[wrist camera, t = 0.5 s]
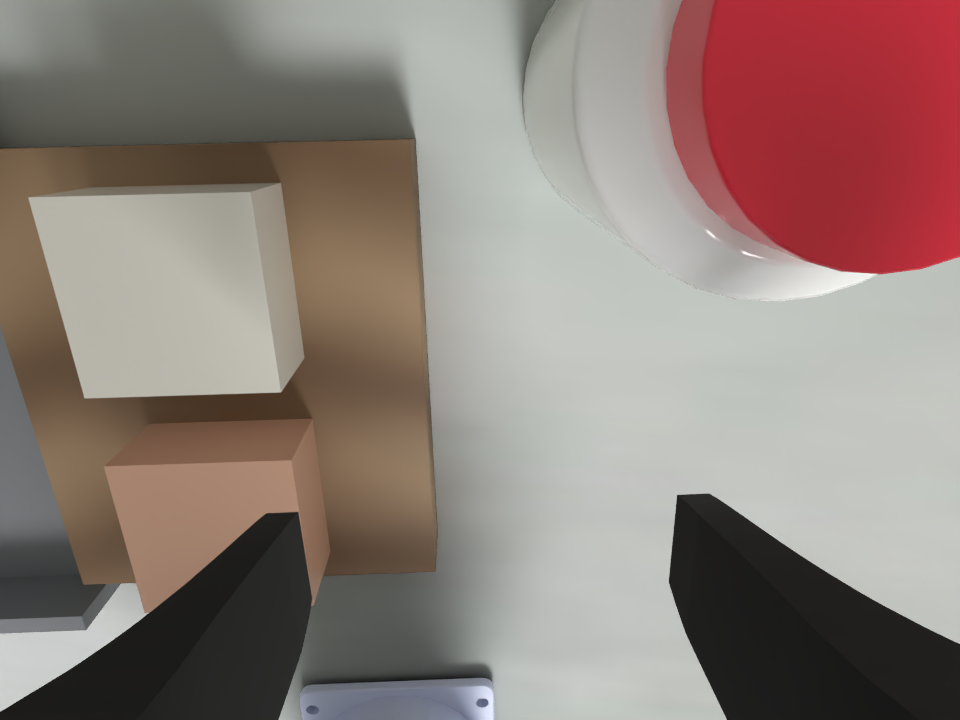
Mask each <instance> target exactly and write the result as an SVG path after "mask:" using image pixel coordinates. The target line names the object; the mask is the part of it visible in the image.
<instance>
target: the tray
mask: <svg viewBox="0 0 960 720" xmlns="http://www.w3.org/2000/svg"><path fill="white" fill-rule="evenodd" d="M120 584H121V583H116V584H89V585H83V582H82V579H81V576H80V573H79V570H78V566H77V563H76V560H75V557H74V554H73V551H72V548H71V545H70V542H69V538H68V535H67V532H66V529H65V526H64V523H63V520H62V517H61V513H60V510H59V507H58V504H57V501H56V498H55V495H54V492H53V489H52V485H51V482H50V479H49V476H48V473H47V470H46V467H45V464H44V460H43V457H42V454H41V451H40V448H39V445H38V442H37V439H36V436H35V432H34V429H33V426H32V423H31V420H30V417H29V414H28V411H27V407H26V404H25V401H24V398H23V395H22V392H21V389H20V386H19V383H18V379H17V376H16V373H15V370H14V367H13V364H12V361H11V358H10V354H9V351H8V348H7V345H6V342H5V339H4V336H3V333H2V330H1V326H0V633H23V632H49V631H75V630H87V628H88V627H89V625H90V624H91V623H92V621H93V620H94V619H95V617H96V616H97V615H98V613H99V612H100V611H101V609H102V608H103V607H104V605H105V604H106V603H107V601H108V600H109V599H110V597H111V596H112V595H113V593H114V592H115V591H116V589H117V588H118V587H119V585H120Z"/></svg>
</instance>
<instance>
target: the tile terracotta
mask: <svg viewBox="0 0 960 720" xmlns="http://www.w3.org/2000/svg"><path fill="white" fill-rule="evenodd" d="M104 469H105V473H106V476H107V480H108V483H109V487H110V491H111V494H112V498H113V501H114V505H115V508H116V512H117V515H118V519H119V523H120V526H121V530H122V533H123V537H124V540H125V544H126V548H127V551H128V555H129V558H130V562H131V565H132V569H133V572H134V576H135V580H136V583H137V587H138V590H139V594H140V597H141V601H142V604H143V608H144V612H145V613H149V612H151V611H152V610H154V609H155V608H156V607H157V606H159V605H160V604H161V603H162V602H164V601H165V600H166V599H167V598H168V597H170V596H171V595H172V594H173V593H175V592H176V591H177V590H178V589H180V588H181V587H182V586H183V585H185V584H186V583H187V582H188V581H189V580H191V579H192V578H193V577H194V576H195V575H196V574H198V573H199V572H200V571H201V570H202V569H203V568H204V567H206V566H207V565H208V564H209V563H210V562H211V561H212V560H214V559H215V558H216V557H217V556H218V555H219V554H220V553H222V552H223V551H224V550H225V549H226V548H227V547H228V546H229V545H230V544H232V543H233V542H234V541H235V540H236V539H237V538H238V537H239V536H240V535H242V534H243V533H244V532H245V531H246V530H247V529H248V528H249V527H250V526H252V525H253V524H254V523H255V522H256V521H257V520H259V519H260V518H261V517H262V516H263V515H265V514H266V513H283V512H299V519H300V525H301V531H302V537H303V543H304V550H305V556H306V562H307V568H308V575H309V581H310V587H311V593H312V603H311V606H314V603H315V600H316V597H317V594H318V590H319V587H320V584H321V581H322V577H323V574H324V571H325V568H326V565H327V561H328V558H329V555H330V544H329V537H328V529H327V522H326V514H325V507H324V500H323V492H322V485H321V477H320V470H319V462H318V455H317V447H316V440H315V432H314V425H313V419H285V420H254V421H223V422H191V423H160V424H148V425H147V426H146V427H145V428H144V429H143V430H142V431H141V432H140V433H139V434H137V435H136V436H135V437H134V438H133V439H132V440H131V441H130V442H129V443H128V444H127V445H126V446H125V447H124V448H123V449H122V450H121V451H120V452H118V453H117V454H116V455H115V456H114V457H113V458H112V459H111V460H110V461H109V462H108V463H107V464H106V465H105V466H104Z"/></svg>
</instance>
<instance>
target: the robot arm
mask: <svg viewBox="0 0 960 720" xmlns="http://www.w3.org/2000/svg"><path fill="white" fill-rule="evenodd" d="M669 584H670V587H671V590H672V593H673V597H674V600H675V603H676V606H677V609H678V612H679V615H680V618H681V621H682V624H683V627H684V629H685V632H686V634H687V637H688V639H689V641H690V643H691V645H692V647H693V649H694V652H695V654H696V656H697V658H698V660H699V662H700V664H701V666H702V668H703V671H704V673H705V675H706V677H707V679H708V681H709V683H710V685H711V687H712V689H713V691H714V693H715V695H716V697H717V700H718V702H719V704H720V706H721V708H722V710H723V712H724V714H725V716H726V718H727V720H960V644H958V643H956V642H954V641H952V640H950V639H948V638H945V637H943V636H941V635H939V634H937V633H935V632H933V631H931V630H929V629H927V628H925V627H923V626H921V625H919V624H917V623H915V622H913V621H912V620H910V619H908V618H906V617H904V616H902V615H900V614H898V613H896V612H894V611H892V610H891V609H889V608H887V607H885V606H883V605H881V604H879V603H878V602H876V601H874V600H872V599H870V598H869V597H867V596H865V595H863V594H862V593H860V592H858V591H857V590H855V589H853V588H852V587H850V586H848V585H847V584H845V583H843V582H842V581H840V580H838V579H837V578H835V577H833V576H832V575H830V574H828V573H827V572H825V571H824V570H822V569H820V568H819V567H817V566H816V565H814V564H813V563H811V562H810V561H808V560H806V559H805V558H803V557H802V556H800V555H799V554H797V553H796V552H794V551H793V550H791V549H790V548H788V547H787V546H785V545H784V544H782V543H781V542H779V541H778V540H777V539H775V538H774V537H772V536H771V535H769V534H768V533H766V532H765V531H764V530H762V529H761V528H759V527H758V526H756V525H755V524H754V523H752V522H751V521H749V520H748V519H746V518H745V517H744V516H742V515H741V514H739V513H738V512H736V511H735V510H733V509H732V508H731V507H729V506H728V505H726V504H725V503H723V502H722V501H720V500H719V499H717V498H715V497H714V496H712V495H711V494H690V495H677V504H676V514H675V524H674V534H673V545H672V555H671V565H670V576H669ZM311 603H312V593H311V587H310V581H309V575H308V568H307V562H306V556H305V550H304V543H303V537H302V531H301V525H300V519H299V512H283V513H266V514H265V515H263V516H262V517H261V518H260V519H259V520H257V521H256V522H255V523H254V524H253V525H252V526H250V527H249V528H248V529H247V530H246V531H245V532H244V533H243V534H242V535H240V536H239V537H238V538H237V539H236V540H235V541H234V542H233V543H232V544H230V545H229V546H228V547H227V548H226V549H225V550H224V551H223V552H222V553H220V554H219V555H218V556H217V557H216V558H215V559H214V560H212V561H211V562H210V563H209V564H208V565H207V566H206V567H204V568H203V569H202V570H201V571H200V572H199V573H198V574H196V575H195V576H194V577H193V578H192V579H191V580H189V581H188V582H187V583H186V584H185V585H183V586H182V587H181V588H180V589H178V590H177V591H176V592H175V593H173V594H172V595H171V596H170V597H168V598H167V599H166V600H165V601H164V602H162V603H161V604H160V605H159V606H157V607H156V608H155V609H154V610H152V611H151V612H150V613H149V614H147V615H146V616H145V617H144V618H142V619H141V620H140V621H139V622H137V623H136V624H135V625H133V626H132V627H131V628H129V629H128V630H126V631H125V632H124V633H122V634H121V635H120V636H118V637H117V638H115V639H114V640H113V641H111V642H110V643H108V644H107V645H105V646H104V647H103V648H101V649H100V650H98V651H97V652H95V653H94V654H92V655H91V656H89V657H88V658H86V659H85V660H84V661H82V662H81V663H79V664H78V665H76V666H75V667H73V668H72V669H70V670H68V671H67V672H65V673H64V674H62V675H60V676H59V677H57V678H55V679H54V680H52V681H51V682H49V683H47V684H46V685H44V686H42V687H41V688H39V689H37V690H36V691H34V692H32V693H31V694H29V695H27V696H26V697H24V698H23V699H21V700H19V701H18V702H16V703H14V704H13V705H11V706H9V707H8V708H6V709H4V710H3V711H1V712H0V720H278V719H279V716H280V713H281V710H282V708H283V705H284V702H285V699H286V696H287V693H288V690H289V687H290V684H291V681H292V678H293V675H294V672H295V669H296V666H297V663H298V660H299V657H300V654H301V651H302V647H303V642H304V638H305V633H306V629H307V624H308V619H309V614H310V608H311ZM481 698H484V699H481ZM299 703H300V708H301V714H302V720H495V715H494V686H493V683H492V682H491V681H490V680H489V679H486V678H464V679H439V680H414V681H390V682H365V683H341V684H316V685H308V686H306V687H304V688H303V689H302V690H301V694H300V697H299ZM312 705H313V706H312Z"/></svg>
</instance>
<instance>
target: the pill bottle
mask: <svg viewBox="0 0 960 720" xmlns="http://www.w3.org/2000/svg"><path fill="white" fill-rule="evenodd" d="M523 108H524V118H525V128H526V132H527V135H528V139H529V142H530V146H531V149H532V153H533V155H534V157H535V159H536V161H537V163H538V165H539V167H540V169H541V171H542V173H543V175H544V177H545V178H546V179H547V181H548V182H549V183H550V184H551V186H552V187H553V188H554V190H555V191H556V192H557V193H558V195H559V196H560V197H561V198H562V199H563V200H565V201H566V202H567V203H568V204H569V205H571V206H572V207H573V208H574V209H575V210H577V211H578V212H579V213H580V214H582V215H583V216H585V217H586V218H587V219H589V220H590V221H592V222H593V223H595V224H596V225H597V226H599V227H600V228H602V229H603V230H604V231H606V232H607V233H609V234H610V235H611V236H613V237H614V238H616V239H617V240H618V241H620V242H621V243H623V244H624V245H625V246H627V247H628V248H630V249H631V250H632V251H634V252H635V253H637V254H638V255H640V256H641V257H642V258H644V259H645V260H647V261H648V262H649V263H651V264H652V265H654V266H655V267H656V268H658V269H660V270H661V271H663V272H665V273H667V274H669V275H671V276H673V277H675V278H677V279H679V280H681V281H682V282H684V283H686V284H688V285H690V286H692V287H694V288H696V289H699V290H703V291H707V292H710V293H714V294H718V295H721V296H725V297H729V298H732V299H743V300H758V301H776V302H778V301H786V300H794V299H802V298H810V297H817V296H822V295H825V294H828V293H831V292H834V291H838V290H841V289H844V288H847V287H850V286H853V285H857V284H860V283H862V282H864V281H866V280H868V279H870V278H872V277H874V276H876V275H878V274H887V273H894V272H902V271H910V270H918V269H923V268H926V267H929V266H932V265H936V264H939V263H942V262H945V261H948V260H951V259H955V258H958V257H960V0H556V1H555V3H554V4H553V5H552V7H551V8H550V10H549V11H548V12H547V14H546V16H545V18H544V20H543V22H542V24H541V27H540V29H539V31H538V33H537V35H536V37H535V39H534V41H533V45H532V48H531V52H530V56H529V59H528V63H527V67H526V70H525V81H524V92H523Z"/></svg>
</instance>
